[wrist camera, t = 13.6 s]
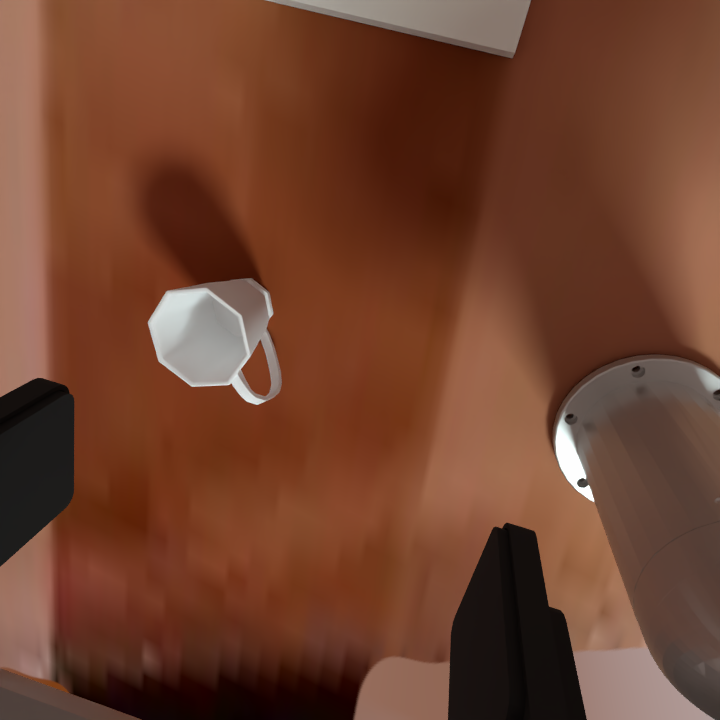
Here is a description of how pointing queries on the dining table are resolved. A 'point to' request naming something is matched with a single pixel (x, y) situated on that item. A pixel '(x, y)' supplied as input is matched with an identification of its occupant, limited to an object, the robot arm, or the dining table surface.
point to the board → (436, 19)
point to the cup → (215, 334)
